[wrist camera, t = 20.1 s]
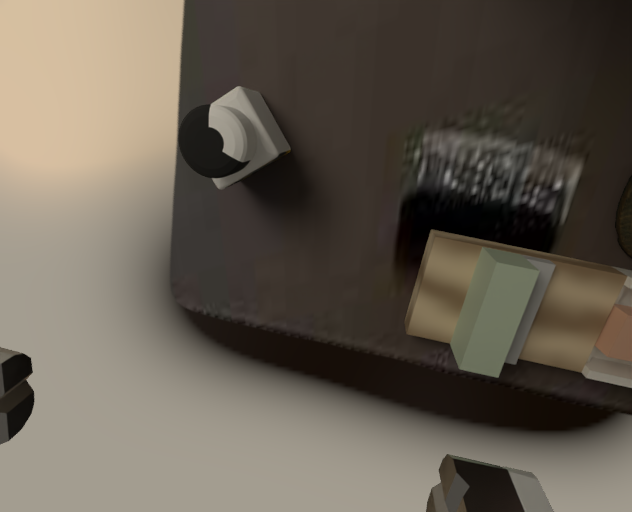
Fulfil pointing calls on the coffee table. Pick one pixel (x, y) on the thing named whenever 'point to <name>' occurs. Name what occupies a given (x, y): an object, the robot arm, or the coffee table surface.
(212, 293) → the coffee table surface
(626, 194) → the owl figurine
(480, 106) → the coffee table surface
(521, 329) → the grey-green boxy piece
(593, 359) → the box
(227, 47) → the coffee table surface
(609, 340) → the tile
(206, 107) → the medicine bottle
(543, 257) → the board
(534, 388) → the coffee table surface
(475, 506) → the robot arm
